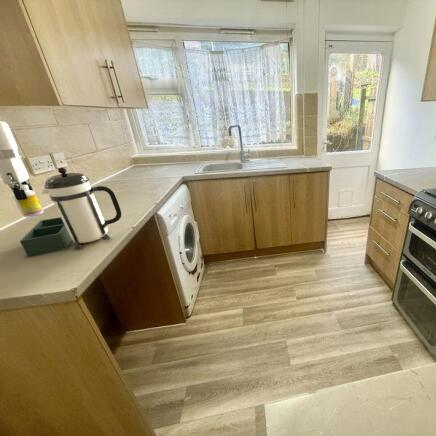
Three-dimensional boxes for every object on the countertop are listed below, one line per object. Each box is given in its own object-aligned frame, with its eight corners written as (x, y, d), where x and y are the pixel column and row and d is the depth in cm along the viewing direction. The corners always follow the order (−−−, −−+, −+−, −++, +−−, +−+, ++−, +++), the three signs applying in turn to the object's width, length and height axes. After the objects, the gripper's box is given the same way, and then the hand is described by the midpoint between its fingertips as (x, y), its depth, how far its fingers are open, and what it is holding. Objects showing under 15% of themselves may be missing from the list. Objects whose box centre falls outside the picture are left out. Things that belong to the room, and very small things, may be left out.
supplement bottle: (47, 212, 108) (34, 184, 103) (28, 218, 103) (13, 188, 98) (38, 210, 110) (24, 183, 105) (19, 216, 105) (4, 187, 100)
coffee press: (94, 250, 92) (59, 172, 80) (60, 248, 95) (20, 172, 83) (129, 229, 108) (104, 161, 95) (98, 228, 111) (70, 162, 98)
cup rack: (27, 256, 90) (19, 241, 87) (47, 233, 107) (40, 220, 104) (66, 248, 95) (59, 233, 92) (78, 228, 112) (73, 215, 109)
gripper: (4, 152, 102) (22, 193, 109) (-19, 158, 88) (4, 204, 95) (28, 151, 105) (44, 190, 112) (9, 156, 91) (30, 201, 98)
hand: (25, 196), depth 103 cm, fingers closed on supplement bottle, 6 cm apart
